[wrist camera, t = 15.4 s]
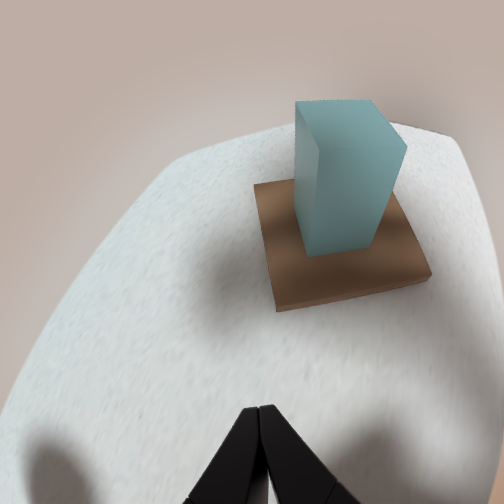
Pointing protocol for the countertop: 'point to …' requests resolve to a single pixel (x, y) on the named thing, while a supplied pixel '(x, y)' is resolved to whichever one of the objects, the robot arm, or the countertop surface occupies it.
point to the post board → (334, 255)
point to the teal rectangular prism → (343, 173)
